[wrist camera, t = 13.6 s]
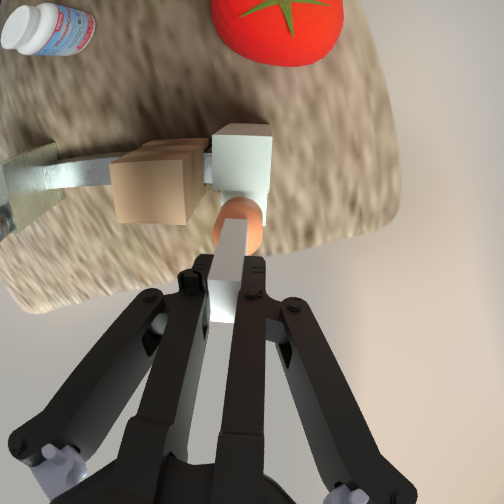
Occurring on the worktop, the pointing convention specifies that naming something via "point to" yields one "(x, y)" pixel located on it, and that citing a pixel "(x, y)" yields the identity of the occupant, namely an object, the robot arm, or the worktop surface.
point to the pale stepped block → (242, 162)
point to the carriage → (159, 181)
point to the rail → (52, 182)
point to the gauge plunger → (242, 210)
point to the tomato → (279, 29)
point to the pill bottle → (48, 30)
